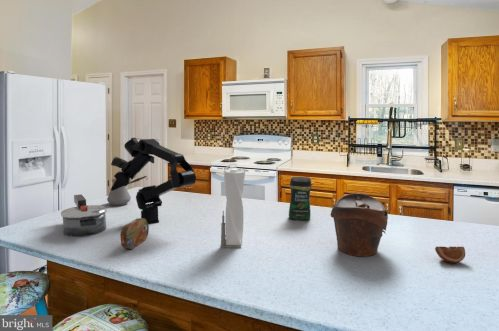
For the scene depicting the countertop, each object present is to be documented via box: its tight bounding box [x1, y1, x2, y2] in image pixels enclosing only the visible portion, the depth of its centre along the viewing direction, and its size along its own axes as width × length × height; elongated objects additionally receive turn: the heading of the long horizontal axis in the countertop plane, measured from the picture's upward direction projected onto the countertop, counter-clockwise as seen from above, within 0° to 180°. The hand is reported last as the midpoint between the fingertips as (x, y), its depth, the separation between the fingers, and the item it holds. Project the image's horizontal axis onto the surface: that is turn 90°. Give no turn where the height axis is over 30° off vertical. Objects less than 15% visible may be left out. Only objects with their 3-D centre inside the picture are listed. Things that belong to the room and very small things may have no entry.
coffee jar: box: [288, 176, 312, 221], centre depth 152 cm, size 10×8×19 cm
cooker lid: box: [60, 193, 107, 219], centre depth 138 cm, size 25×16×4 cm, turn 33°
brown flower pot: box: [330, 192, 389, 257], centre depth 115 cm, size 18×20×18 cm
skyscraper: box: [220, 163, 246, 249], centre depth 120 cm, size 8×8×28 cm
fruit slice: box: [434, 245, 466, 264], centre depth 107 cm, size 8×7×5 cm
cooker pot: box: [62, 212, 107, 238], centre depth 137 cm, size 26×15×7 cm, turn 32°
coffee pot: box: [106, 175, 149, 207], centre depth 176 cm, size 21×12×15 cm, turn 83°
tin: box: [120, 217, 150, 250], centre depth 120 cm, size 15×3×8 cm, turn 168°
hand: (111, 189), depth 146 cm, fingers closed
